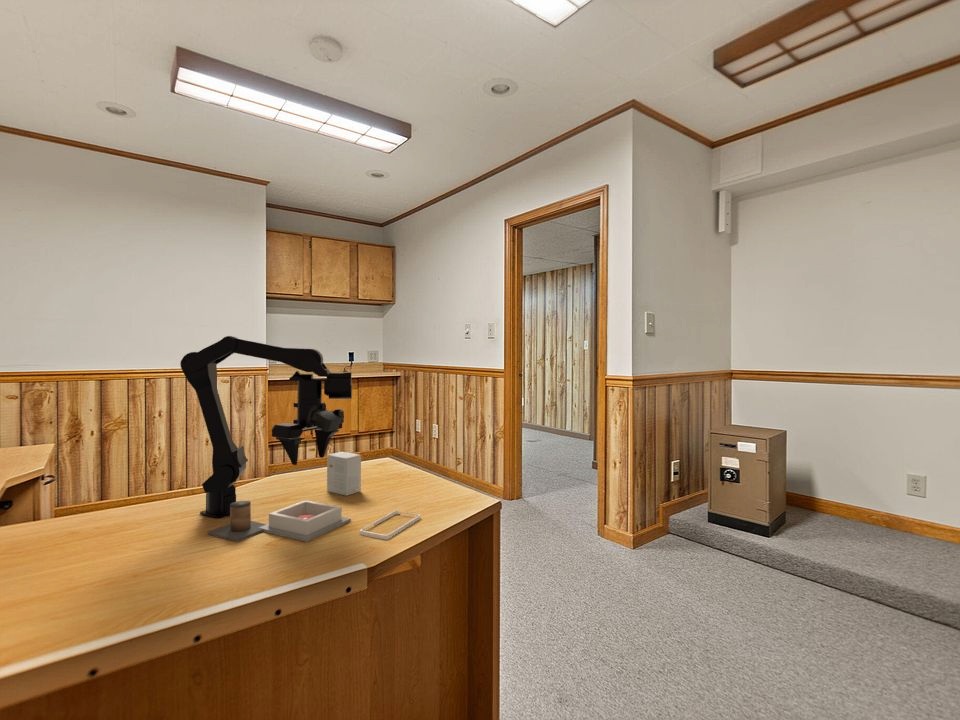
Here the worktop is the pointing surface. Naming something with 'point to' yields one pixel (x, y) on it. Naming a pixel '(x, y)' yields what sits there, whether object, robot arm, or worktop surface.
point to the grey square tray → (302, 529)
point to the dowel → (240, 516)
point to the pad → (237, 536)
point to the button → (306, 516)
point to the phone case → (391, 532)
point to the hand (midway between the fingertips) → (308, 461)
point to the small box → (343, 473)
